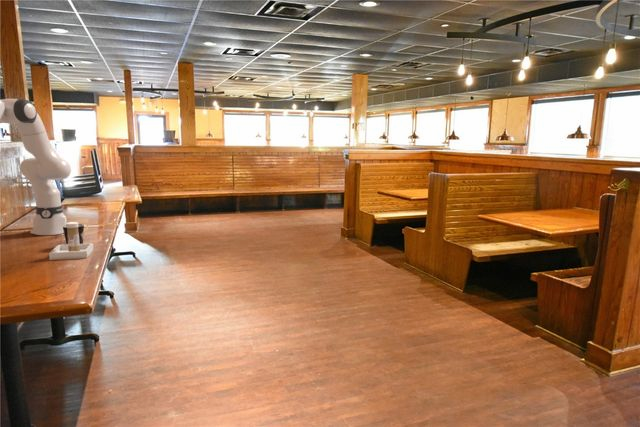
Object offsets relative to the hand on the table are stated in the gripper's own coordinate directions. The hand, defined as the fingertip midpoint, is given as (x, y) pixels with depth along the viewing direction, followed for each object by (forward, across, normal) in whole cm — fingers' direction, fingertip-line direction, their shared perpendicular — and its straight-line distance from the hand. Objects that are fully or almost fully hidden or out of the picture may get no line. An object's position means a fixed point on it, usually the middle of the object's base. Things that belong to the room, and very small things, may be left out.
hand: (15, 181), depth 177 cm
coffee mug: (+20, +12, +32) cm, 40 cm away
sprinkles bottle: (+19, -4, +31) cm, 37 cm away
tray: (+19, -4, +32) cm, 37 cm away
